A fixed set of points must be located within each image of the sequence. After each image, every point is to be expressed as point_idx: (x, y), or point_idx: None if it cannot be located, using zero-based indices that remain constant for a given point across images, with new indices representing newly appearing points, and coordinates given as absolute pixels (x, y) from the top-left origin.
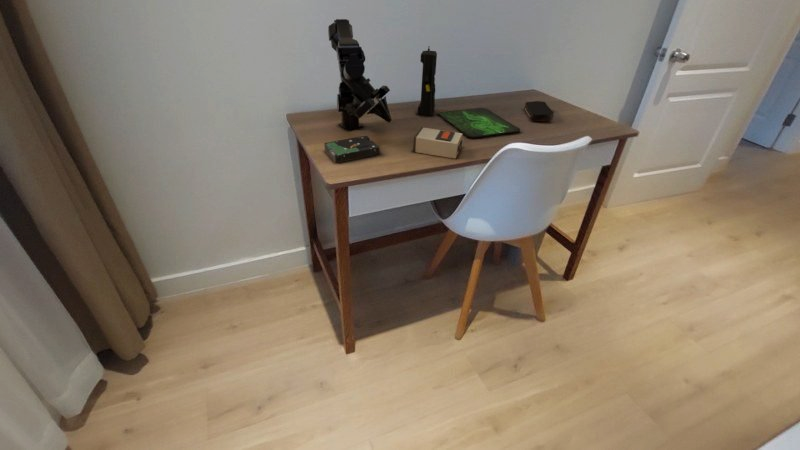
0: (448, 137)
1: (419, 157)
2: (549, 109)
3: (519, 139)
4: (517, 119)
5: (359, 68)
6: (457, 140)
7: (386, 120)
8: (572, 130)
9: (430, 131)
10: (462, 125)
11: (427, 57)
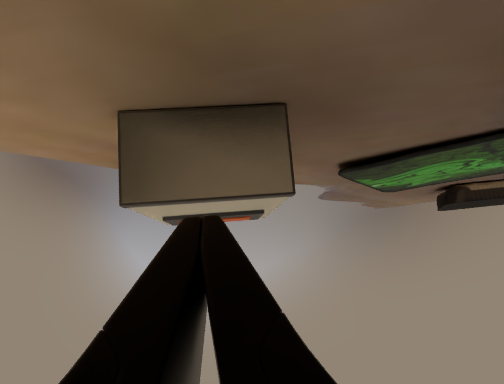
0: None
1: (81, 132)
2: (467, 207)
3: (344, 188)
4: None
5: None
6: None
7: (165, 251)
8: (390, 198)
9: (244, 206)
10: (459, 154)
11: None
